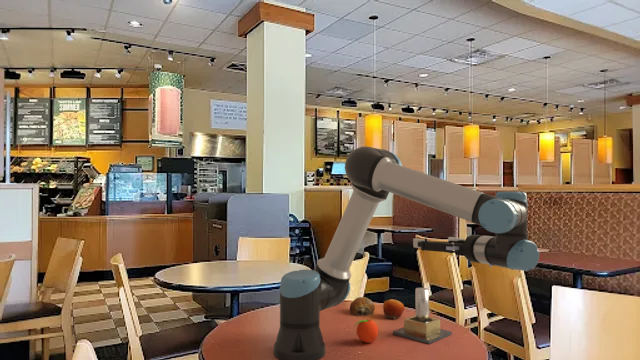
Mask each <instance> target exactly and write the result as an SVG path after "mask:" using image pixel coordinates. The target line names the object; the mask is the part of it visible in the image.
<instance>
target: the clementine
mask: <svg viewBox="0 0 640 360" xmlns="http://www.w3.org/2000/svg"><path fill="white" fill-rule="evenodd" d="M355 327H356V335H357V338H358V339H359V340H360V341H362V342H363V343H365V344H366V343H368V344H369V343H372V342H374V341H375V340H376V339H377V338H378V335H379V328H378V325H377V324H376V322H374V321H373V320H371V319H362V320H359V321H358V322H356V323H355V325H354V327H353V328H355Z"/></svg>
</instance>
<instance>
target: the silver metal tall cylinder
mask: <svg viewBox="0 0 640 360" xmlns="http://www.w3.org/2000/svg"><path fill="white" fill-rule="evenodd" d="M414 296H415V299H414V300H415V315H416V320H415V321H418V322H422V323H428V322H429V317H430V290H429V289H428V288H426V287H416V288H415V295H414Z"/></svg>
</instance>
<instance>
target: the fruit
mask: <svg viewBox="0 0 640 360" xmlns="http://www.w3.org/2000/svg"><path fill="white" fill-rule="evenodd" d="M382 308H383V314H384V317H385V318H386V319H387V318H392V319H394V320H396V319H399V318H401V316H402V315H403V313H404V311H405V306H404V304H403V302H401V301H399V300H397V299H393V298H390V299H388V300H385V301H384V302H383V305H382Z"/></svg>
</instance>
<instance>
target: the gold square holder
mask: <svg viewBox="0 0 640 360" xmlns="http://www.w3.org/2000/svg"><path fill="white" fill-rule="evenodd" d="M415 320H416V314H415V315H412V316H409V317H407V318H404V319H403V323H404V324H403V327H400V328H397V329H395V330H392V335H395V336H399V337H402V338H406V339H410V340H412V341H416V342H421V343H424V344H427V345H431V344H433V343H435V342H438V341H440V340H442V339H444V338H445V339H446V338H447V337H450V336H452V335H453V333H452V331H450V330H446V329H442V328H441V319H440V318H435V317H430V316H429V322H428V323H422V322H418V321H415Z"/></svg>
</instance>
